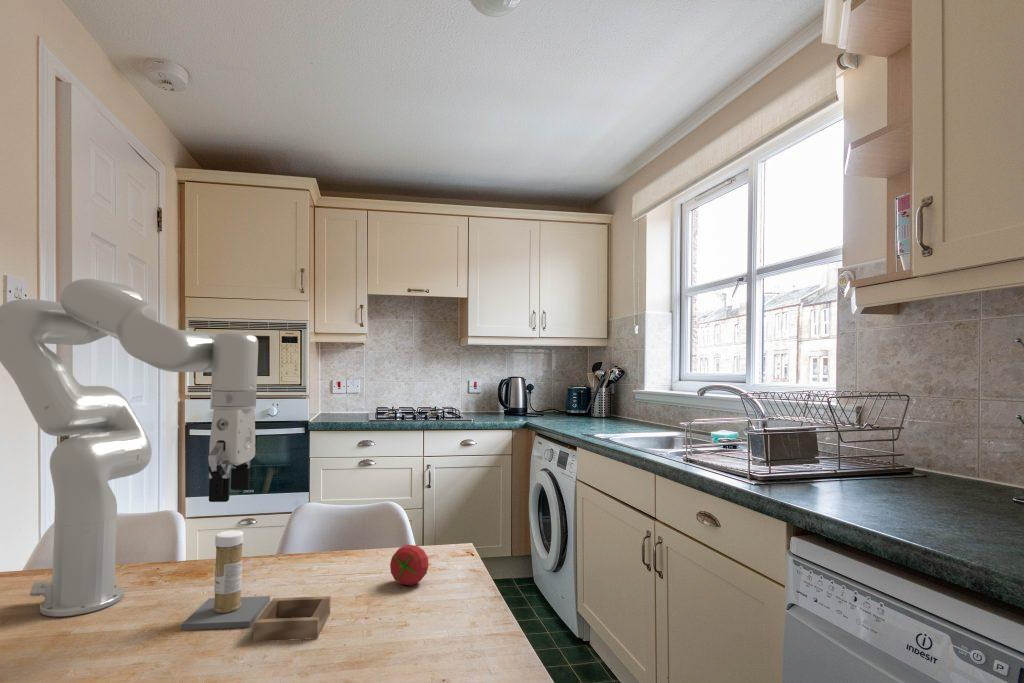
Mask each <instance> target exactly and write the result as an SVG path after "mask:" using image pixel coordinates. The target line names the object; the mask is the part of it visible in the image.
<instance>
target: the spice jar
mask: <svg viewBox="0 0 1024 683" xmlns="http://www.w3.org/2000/svg"><path fill="white" fill-rule="evenodd" d="M214 538H215V541H214V543H215V544H214V545H215V549H216V550H215V567H214V598H215V600H214V608H213V610H214V611H215V612H217V613H227V612H232V611H235V610H237V609H239V608H240V607H241V602H240V597H242V594H241V593H242V592H241V591H242V580H243V579H242V576H243V575H242V574H243V545H244V544H243V543H244V532H243V531H242V530H237V529H235V530H234V529H232V530H231V529H230V530H224V531H221V532H219V533H217V534H215V537H214Z"/></svg>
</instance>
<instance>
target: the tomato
mask: <svg viewBox="0 0 1024 683" xmlns="http://www.w3.org/2000/svg"><path fill="white" fill-rule="evenodd" d="M389 564H390V565H389V567H390V574H391V575H392V578H393V579H394V580H395V581H396V582H397V583H399V584H400V585H403V586H410V585H411V586H414V585H416V584H418V583H419V582H421V581H422V580H423V578H425V576H426V575H427V573H428V569H429V567H430V564H429V557H428V555H427V553H426V552H425V550H424V549H423V548H421V547H419V546H418V545H416V544H415V545H414V544H406V545H403V546H401V547H399V548H398V549H397V550H396V551H395V552H394V553H393V555H392V557H391V560H390V563H389Z"/></svg>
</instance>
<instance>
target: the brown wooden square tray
mask: <svg viewBox="0 0 1024 683" xmlns="http://www.w3.org/2000/svg"><path fill="white" fill-rule="evenodd" d="M331 602H332V601H331V595H327V596H323V595H322V596H300V597H273V598H272V599H270V602H269V603H268V604H267V606H266V607H265V608H264V609H263V611H262V612H261V613H260V615H259V616H258V617H257V618H256V620H255V621H254V622H253V642H254V643H256V642H275V641H276V642H278V641H277V640H279V641H292V640H291V639H301V640H309V639H308V638H317V639H319V636H320V635H321V633H320V632H322V630H323V629H324V627H325V625H326V622H327V621H328V619H329V616H330V615H331ZM306 616H307V617H306ZM308 616H312V617H308ZM283 617H284V618H283ZM285 617H286V618H285ZM287 617H291V618H287ZM319 634H320V635H319ZM306 638H307V639H306ZM289 639H290V640H289ZM255 641H256V642H255Z"/></svg>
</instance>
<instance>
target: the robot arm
mask: <svg viewBox="0 0 1024 683" xmlns="http://www.w3.org/2000/svg"><path fill="white" fill-rule="evenodd" d="M59 300H60V302H59V301H52V300H45V299H43V300H42V299H36V298H35V299H34V298H32V299H31V298H26V299H25V298H23V299H22V298H21V299H13V300H9V301H7V302H4V303H3V304H1V305H0V364H1V365H2V366H3V368H4V369H5V370H6V372H8V374H9V376H10V377H11V378H12V379H13V382H14V383H15V385H16V386H17V388H18V390H19V393H20V394H21V396H22V399H23V400H24V403H25V404H26V405H27V407H28V409H29V411H30V413H31V415H32V417H33V419H34V421H35V422H36V423H37V425H38V427H39V428H40V430H42V431H43V432H44V433H45V434H46V435H48V436H53V437H65V436H71V437H69V438H66V439H64V440H63V441H61V442H59V444H57V445H56V446H55V448H54V449H53V451H52V452H51V453H50V454H51V455H50V457H49V469H50V470H49V471H50V477H51V480H52V486H53V493H54V518H53V519H54V527H53V528H54V530H53V532H54V533H53V549H52V550H53V551H52V554H53V555H52V573H51V575H52V576H51V581H46V580H45V581H43V580H42V581H35V582H34V583H33V584H32V586H31V589H30V592H29V595H30V597H36V596H37V597H38V596H39V597H40V596H42V597H43V598H44V600H43V601H42V602H41V603H40V605H39V613H41V614H42V615H44V616H47V617H54V618H55V617H57V618H58V617H71V616H77V615H78V616H79V615H83V614H88V613H92V612H96V611H99V610H102V609H105V608H108V607H110V606H112V605H114V604H116V603H118V602H119V601H120V600H122V599H123V598H124V594H125V593H124V592H125V589H124V588H123V587H121V586H120V585H115V581H116V579H115V576H116V555H117V554H116V552H117V551H116V550H117V524H118V523H117V522H118V502H117V499H116V496H115V494H114V491H113V490H112V489H111V487H110V484H109V482H108V481H112V480H116V479H120V478H125V477H129V476H133V475H136V474H138V473H141V472H142V471H144V470H145V469H146V468H147V466H148V465H149V463H150V462H151V459H152V453H153V452H152V446H151V445H152V444H151V442H150V438H149V436H148V435H147V433H146V431H145V429H144V428H143V426H142V424H141V422H140V420H139V419H138V417H137V415H136V414H135V412H134V411H133V409H132V407H131V404H130V403H129V401H128V399H127V398H126V397H125V396H124V394H122V393H121V392H120V391H118V390H117V389H115V388H113V387H109V386H105V385H83V384H81V383H79V381H78V380H77V379H76V377H75V376H74V375H73V373H72V371H71V369H70V367H69V366H68V364H67V363H66V362H65V360H64V359H63V358H62V357H60V356H59V355H58V354H57V353H55V351H52V350H51V349H50V348H49V347H48V346H46V345H45V344H48V345H49V344H50V345H70V346H78V345H79V346H80V345H86V344H91V343H93V342H96V341H99V340H101V339H103V338H106V337H108V336H110V337H112V338H113V339H116V340H118V341H119V343H120V345H121V347H122V348H123V350H124V351H125V352H126V353H127V354H128V355H129V356H131V357H133V358H135V359H137V360H139V361H142V362H144V363H145V364H147V365H149V366H152V367H154V368H156V369H159V370H161V371H164V372H170V373H171V372H172V373H211V384H210V387H211V388H210V403H209V404H210V406H209V408H210V410H213V413H212V419H211V420H212V421H211V426H210V427H211V429H210V436H209V449H208V450H209V451H208V452H209V453H208V457H207V460H208V478H209V484H208V485H209V486H208V501H209V502H210V503H226V502H228V501H230V494H231V493H230V492H231V491H247V490H249V489H250V475H251V474H250V472H251V461H252V460H253V459H254V458H255V456H256V421H255V420H256V418H255V409H256V408H257V390H258V389H257V386H258V361H259V360H258V358H259V339H258V338H257V336H255V334H251V333H246V332H221V333H215V332H214V333H213V332H205V331H197V330H187V329H178V328H173V327H170V326H167V325H165V324H164V323H161V322H159V321H158V313H157V310H156V308H155V307H154V306H153V305H152V304H151V303H149V302H147V301H145V300H144V298H143V296H142V294H141V293H140V292H139V291H138V290H136V289H135V288H133V287H132V286H129V285H127V284H122V283H116V282H110V281H107V280H106V281H105V280H100V279H92V278H82V279H81V278H80V279H76V280H73V281H72V282H70V283H67V284H66V285H65V286H64V287H63V289H62V290H61V292H60V295H59ZM232 466H233V467H232ZM231 467H232V468H231ZM230 473H231V474H230ZM229 474H230V477H229ZM230 490H231V491H230Z"/></svg>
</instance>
